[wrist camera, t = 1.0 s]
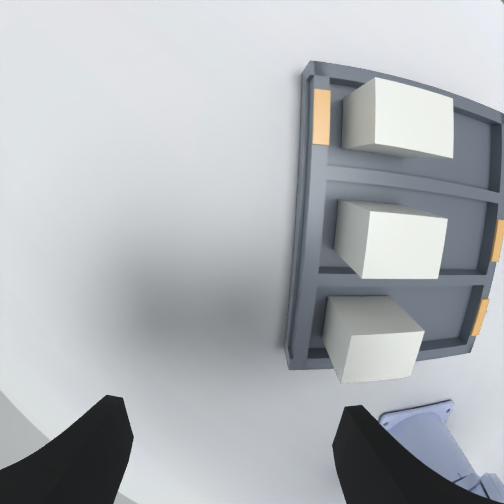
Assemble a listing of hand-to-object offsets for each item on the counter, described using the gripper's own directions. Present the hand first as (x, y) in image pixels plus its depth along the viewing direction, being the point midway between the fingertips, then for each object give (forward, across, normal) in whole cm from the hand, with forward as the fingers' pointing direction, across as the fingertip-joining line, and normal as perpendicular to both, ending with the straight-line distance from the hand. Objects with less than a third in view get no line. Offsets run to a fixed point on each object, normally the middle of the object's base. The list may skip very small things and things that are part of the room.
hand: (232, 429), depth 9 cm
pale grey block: (+9, -7, 0) cm, 11 cm away
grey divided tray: (+10, -10, -5) cm, 15 cm away
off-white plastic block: (+9, -7, -11) cm, 16 cm away
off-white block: (+9, -7, -5) cm, 13 cm away
